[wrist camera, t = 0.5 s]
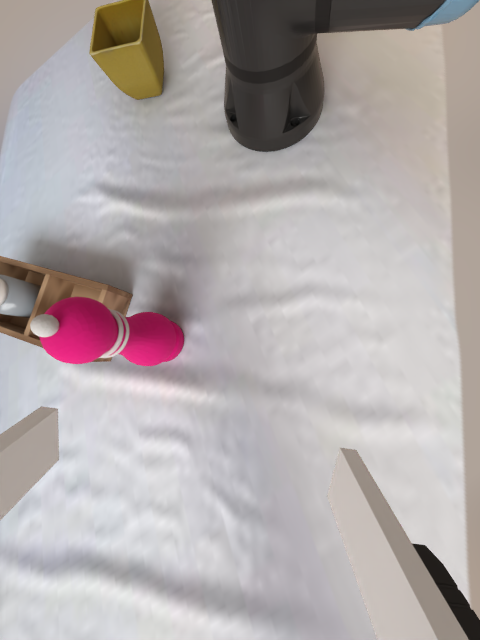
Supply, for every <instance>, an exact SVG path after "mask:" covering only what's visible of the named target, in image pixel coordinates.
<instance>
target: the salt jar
mask: <svg viewBox="0 0 480 640" xmlns="http://www.w3.org/2000/svg"><path fill="white" fill-rule="evenodd" d="M40 288H41V286H40V285H37V284H33V283H30V282H26V281H23V280H19V279H16V278H12V277H9V276H5V275H1V274H0V314H5V315H12V316H19V317H25V318H30V316H31V313H32V310H33V308H34V305H35V302H36V299H37V297H38V294H39V291H40Z"/></svg>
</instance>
